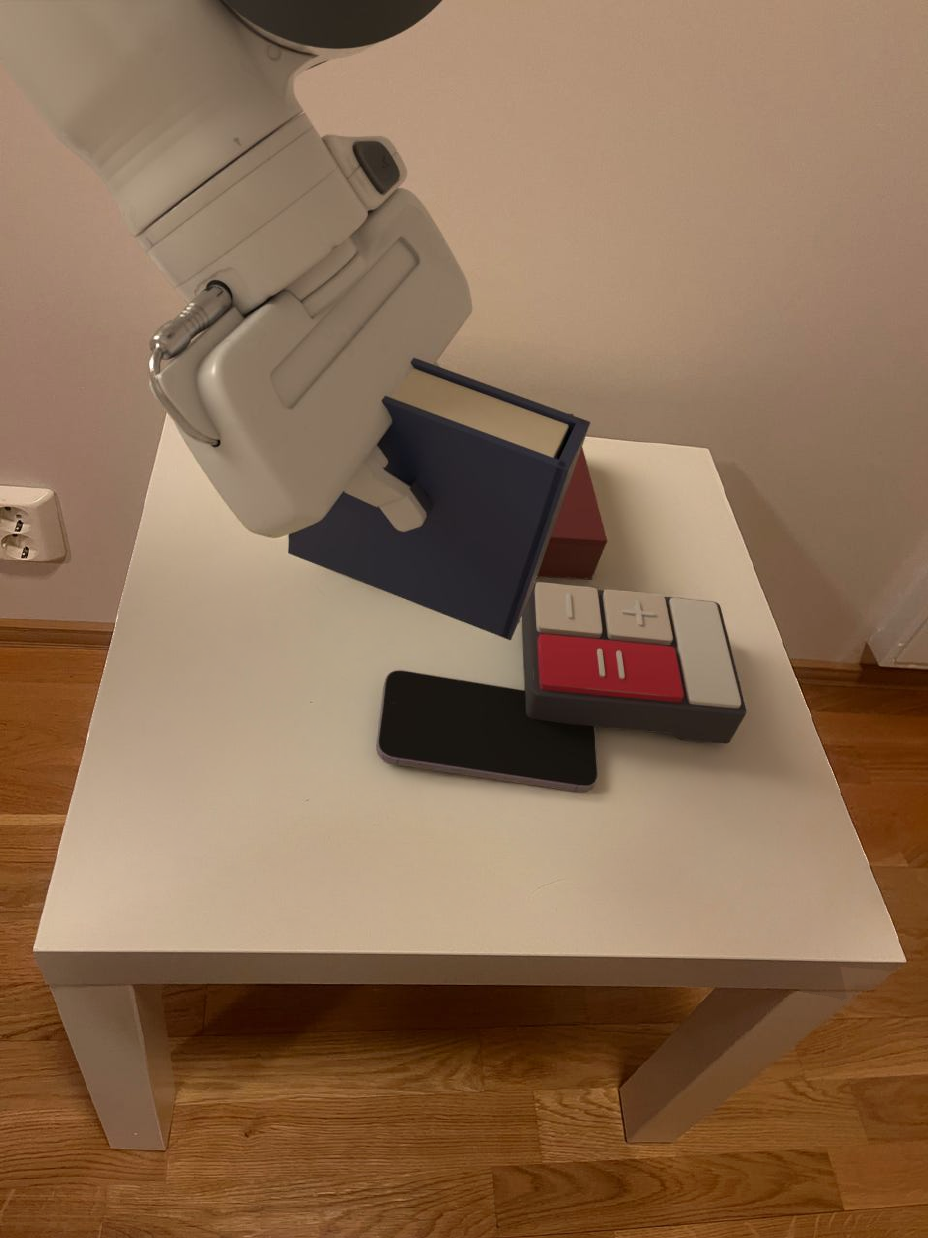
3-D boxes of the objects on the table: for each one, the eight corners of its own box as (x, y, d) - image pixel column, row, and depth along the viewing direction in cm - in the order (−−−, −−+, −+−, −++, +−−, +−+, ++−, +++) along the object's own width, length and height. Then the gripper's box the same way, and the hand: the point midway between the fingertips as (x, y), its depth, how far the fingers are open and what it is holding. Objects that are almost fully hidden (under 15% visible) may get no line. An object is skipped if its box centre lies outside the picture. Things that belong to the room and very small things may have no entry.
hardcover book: (510, 641, 49) (568, 470, 40) (287, 553, 50) (295, 368, 41) (531, 591, 51) (590, 421, 42) (319, 510, 53) (333, 327, 44)
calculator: (529, 573, 68) (723, 594, 69) (519, 613, 71) (705, 632, 72) (534, 687, 60) (752, 708, 62) (523, 726, 64) (731, 745, 65)
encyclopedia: (319, 564, 70) (323, 522, 67) (321, 432, 80) (324, 390, 77) (591, 579, 74) (607, 540, 71) (560, 452, 84) (573, 413, 81)
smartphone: (599, 790, 60) (375, 756, 58) (593, 798, 61) (373, 765, 59) (593, 700, 65) (386, 666, 63) (588, 709, 66) (384, 676, 64)
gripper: (177, 321, 31) (407, 614, 37) (405, 126, 44) (545, 366, 50) (78, 386, 34) (303, 642, 41) (316, 189, 48) (457, 404, 54)
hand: (438, 487), depth 46 cm, fingers closed on hardcover book, 4 cm apart
